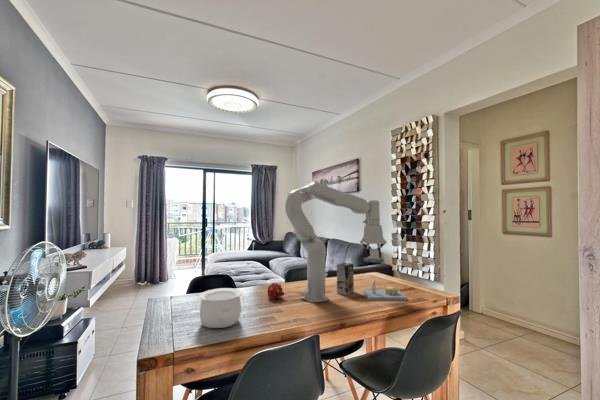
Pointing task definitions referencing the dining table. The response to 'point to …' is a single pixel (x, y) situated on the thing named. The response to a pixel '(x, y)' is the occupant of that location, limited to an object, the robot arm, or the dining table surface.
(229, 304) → the pot
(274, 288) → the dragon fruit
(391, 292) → the carrier
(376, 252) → the gear
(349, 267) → the coffee box
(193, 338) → the dining table surface
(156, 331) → the dining table surface
